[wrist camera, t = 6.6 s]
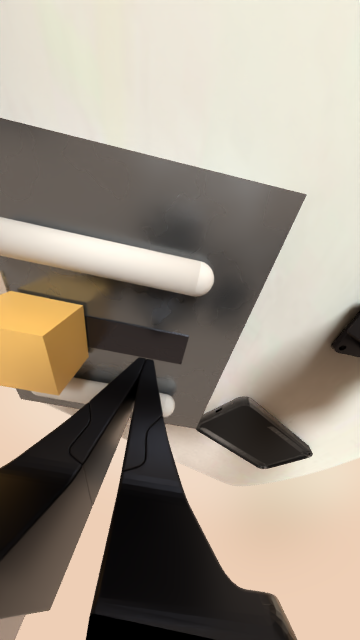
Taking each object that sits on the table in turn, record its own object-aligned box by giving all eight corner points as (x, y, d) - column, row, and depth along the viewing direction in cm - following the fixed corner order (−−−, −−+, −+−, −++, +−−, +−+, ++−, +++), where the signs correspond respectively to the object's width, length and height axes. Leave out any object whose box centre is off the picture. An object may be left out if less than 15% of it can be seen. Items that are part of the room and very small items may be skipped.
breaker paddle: (83, 305, 10) (42, 336, 7) (88, 356, 12) (58, 395, 9) (10, 290, 9) (-59, 317, 7) (29, 345, 11) (-19, 382, 9)
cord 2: (216, 262, 8) (221, 269, 7) (207, 292, 9) (209, 305, 8) (-11, 211, 8) (-56, 208, 6) (1, 248, 8) (-36, 253, 7)
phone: (262, 470, 25) (191, 427, 20) (259, 460, 26) (191, 417, 21) (316, 455, 21) (248, 400, 17) (311, 445, 22) (245, 390, 18)
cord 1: (177, 391, 13) (175, 411, 12) (173, 403, 14) (171, 423, 13) (39, 366, 13) (21, 384, 11) (44, 380, 13) (27, 398, 12)
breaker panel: (274, 202, 9) (308, 193, 7) (195, 399, 18) (195, 429, 16) (-28, 128, 8) (-130, 84, 6) (46, 372, 17) (19, 399, 15)
